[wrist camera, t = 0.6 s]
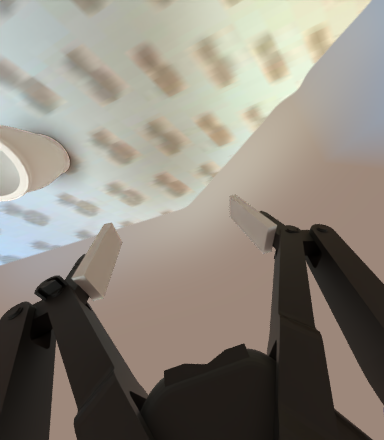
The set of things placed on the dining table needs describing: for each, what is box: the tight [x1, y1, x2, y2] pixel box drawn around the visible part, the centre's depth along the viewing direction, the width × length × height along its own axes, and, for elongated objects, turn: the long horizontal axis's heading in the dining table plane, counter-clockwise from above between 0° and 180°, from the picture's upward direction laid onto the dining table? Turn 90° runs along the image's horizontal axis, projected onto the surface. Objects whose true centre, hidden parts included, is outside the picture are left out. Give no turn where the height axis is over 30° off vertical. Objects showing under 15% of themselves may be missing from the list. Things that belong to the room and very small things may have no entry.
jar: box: [0, 125, 70, 201], centre depth 26 cm, size 11×10×15 cm
